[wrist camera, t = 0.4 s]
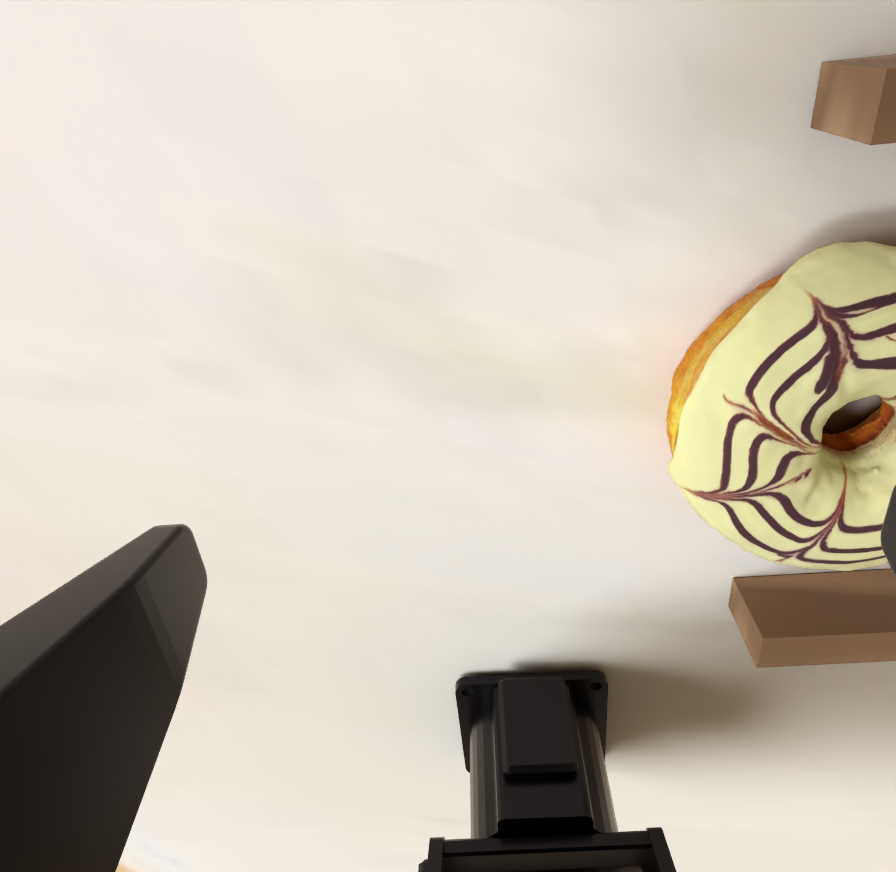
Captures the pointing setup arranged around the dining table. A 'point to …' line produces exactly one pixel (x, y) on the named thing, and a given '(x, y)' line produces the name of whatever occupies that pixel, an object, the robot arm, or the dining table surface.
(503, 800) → the robot arm
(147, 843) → the dining table surface
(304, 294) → the dining table surface
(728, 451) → the decorated donut
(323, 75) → the dining table surface
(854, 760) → the dining table surface
